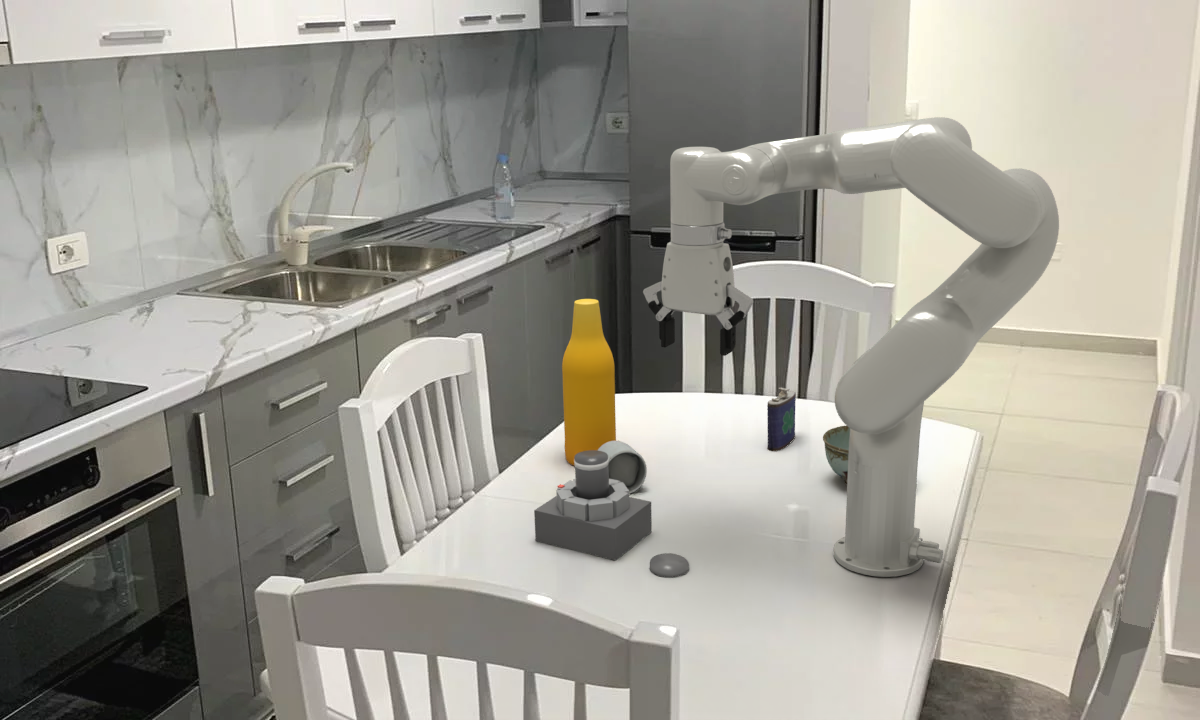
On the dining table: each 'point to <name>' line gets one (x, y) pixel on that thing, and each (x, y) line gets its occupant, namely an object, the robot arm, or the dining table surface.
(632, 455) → the ceramic mug
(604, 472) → the lens
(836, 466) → the bowl
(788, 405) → the flask
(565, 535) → the camera body
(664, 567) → the lens cap
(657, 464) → the dining table surface
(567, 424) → the beer bottle
